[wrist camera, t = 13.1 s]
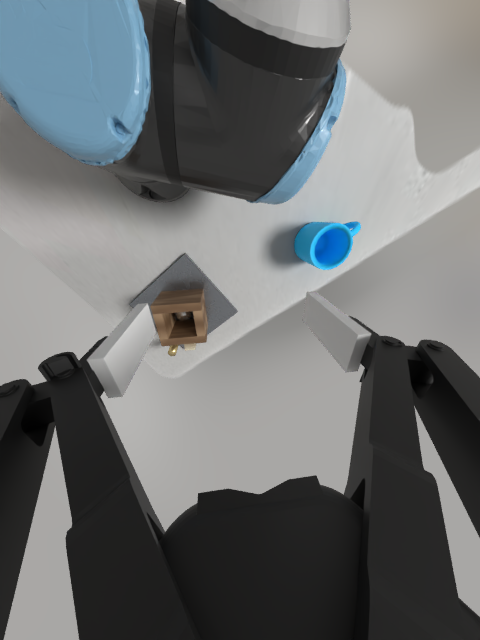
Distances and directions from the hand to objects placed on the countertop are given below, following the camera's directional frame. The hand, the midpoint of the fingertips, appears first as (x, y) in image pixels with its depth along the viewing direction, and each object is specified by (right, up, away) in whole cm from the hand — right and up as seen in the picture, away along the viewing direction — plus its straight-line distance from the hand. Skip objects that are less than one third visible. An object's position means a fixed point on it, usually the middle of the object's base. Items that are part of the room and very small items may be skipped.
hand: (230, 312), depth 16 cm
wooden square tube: (-12, 0, +31) cm, 33 cm away
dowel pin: (-16, -5, +34) cm, 38 cm away
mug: (+19, +18, +26) cm, 36 cm away
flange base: (-12, +3, +30) cm, 33 cm away
